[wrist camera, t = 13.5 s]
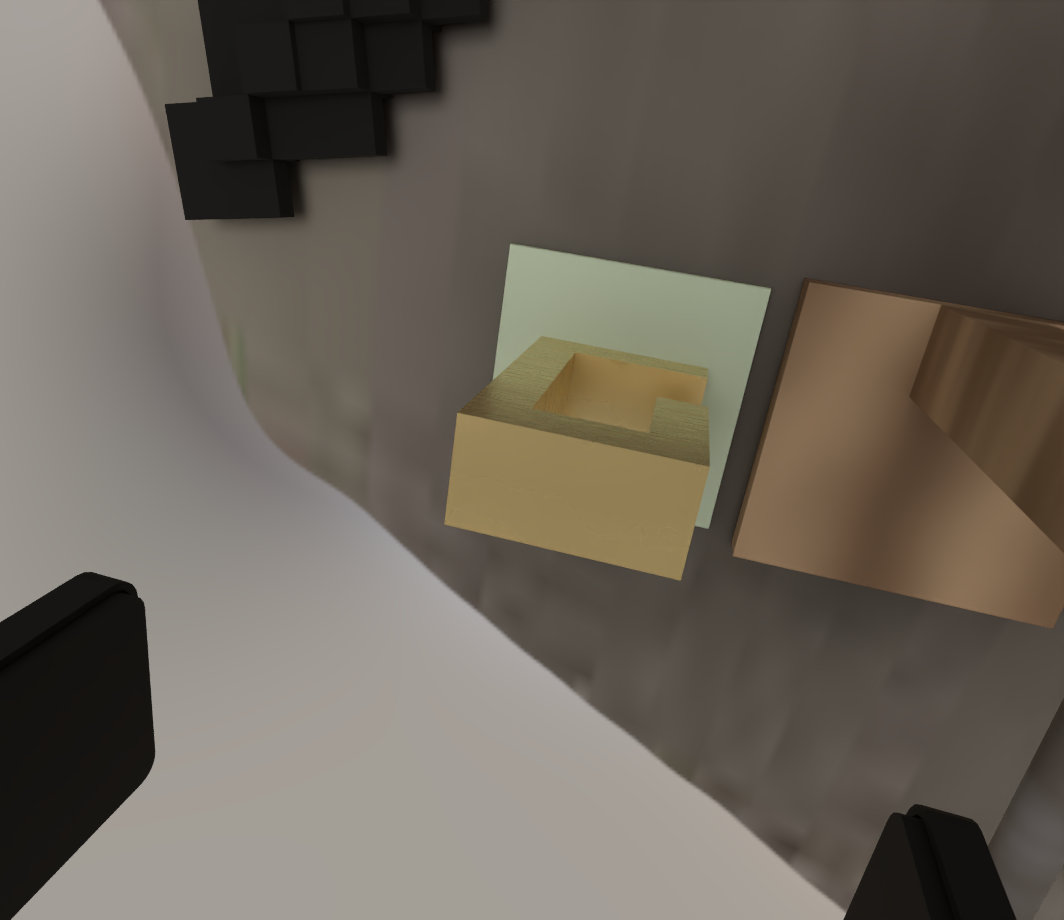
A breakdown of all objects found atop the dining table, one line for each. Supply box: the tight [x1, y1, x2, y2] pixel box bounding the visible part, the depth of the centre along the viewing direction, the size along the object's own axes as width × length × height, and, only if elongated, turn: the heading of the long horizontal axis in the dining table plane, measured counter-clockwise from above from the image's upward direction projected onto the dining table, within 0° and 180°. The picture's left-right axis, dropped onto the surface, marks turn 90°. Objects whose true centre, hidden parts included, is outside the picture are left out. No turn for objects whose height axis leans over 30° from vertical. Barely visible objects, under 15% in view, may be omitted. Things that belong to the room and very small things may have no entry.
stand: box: [732, 278, 1064, 920], centre depth 17 cm, size 11×12×20 cm
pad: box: [493, 243, 771, 529], centre depth 27 cm, size 9×9×1 cm
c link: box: [445, 336, 710, 581], centre depth 22 cm, size 6×3×10 cm, turn 81°
